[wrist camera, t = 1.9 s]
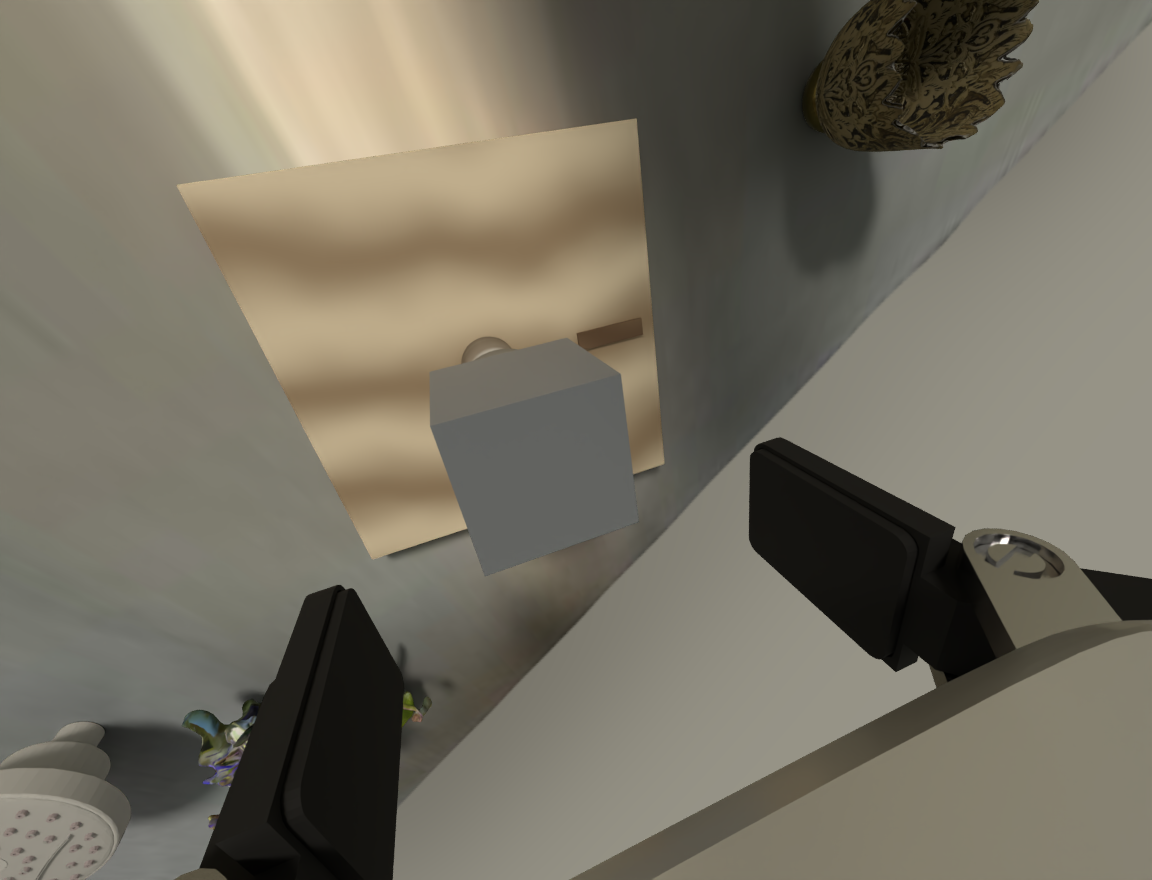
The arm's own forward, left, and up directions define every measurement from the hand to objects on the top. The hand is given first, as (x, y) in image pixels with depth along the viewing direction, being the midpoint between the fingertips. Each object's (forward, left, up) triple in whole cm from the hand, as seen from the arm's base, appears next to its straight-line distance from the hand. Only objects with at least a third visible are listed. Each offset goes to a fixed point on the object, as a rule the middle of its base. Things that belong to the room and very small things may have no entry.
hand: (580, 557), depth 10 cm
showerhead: (+16, -31, -18) cm, 40 cm away
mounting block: (-1, 0, -18) cm, 18 cm away
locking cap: (+2, 0, -10) cm, 10 cm away
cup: (-11, +23, -18) cm, 31 cm away
